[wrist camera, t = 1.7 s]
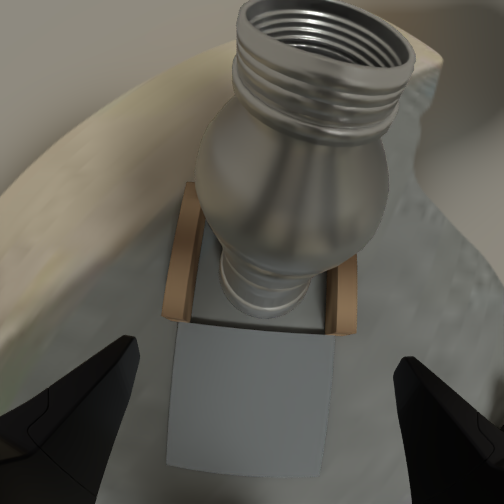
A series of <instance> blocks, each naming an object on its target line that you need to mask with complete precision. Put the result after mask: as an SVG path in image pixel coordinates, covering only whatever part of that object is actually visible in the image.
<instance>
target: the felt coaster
mask: <svg viewBox="0 0 504 504" xmlns="http://www.w3.org/2000/svg"><path fill="white" fill-rule="evenodd" d="M334 348H335V335H318V334H299V333H284V332H271V331H259V330H248V329H238V328H229V327H220V326H211V325H203V324H195V323H186V322H178V330H177V338H176V346H175V355H174V365H173V374H172V385H171V396H170V408H169V422H168V438H167V458H166V465H169V466H174V467H179V468H185V469H191V470H197V471H203V472H210V473H218V474H227V475H238V476H252V477H317V476H320V470H321V464H322V458H323V452H324V445H325V438H326V431H327V423H328V415H329V406H330V397H331V387H332V375H333V363H334Z"/></svg>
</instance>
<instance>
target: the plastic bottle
mask: <svg viewBox="0 0 504 504" xmlns="http://www.w3.org/2000/svg"><path fill="white" fill-rule="evenodd" d="M236 27H237V28H236V29H237V54H236V56H235V57H234V59H233V65H232V83H233V88H234V93H235V94H236V95H235V96H233V97H232V98H231V99H230V100H229V101H228V102H227V103H226V104H225V106H224V107H223V108H222V109H221V110H220V112H219V113H218V114H217V115H216V117H215V118H214V119H213V120H212V122H211V123H210V124H209V126H208V127H207V129H206V131H205V133H204V136H203V138H202V140H201V144H200V147H199V151H198V155H197V160H196V166H195V172H194V175H195V189H196V193H197V196H198V199H199V202H200V206H201V208H202V210H203V213H204V215H205V218H206V220H207V222H208V223H209V225H210V227H211V229H212V230H213V232H214V234H215V235H216V237H217V238H218V240H219V242H220V243H221V245H222V247H223V250H222V253H221V257H220V262H219V280H220V284H221V287H222V290H223V292H224V293H225V295H226V297H227V299H228V300H229V301H230V302H231V303H232V304H233V306H235V307H236V308H237V309H239V310H240V311H241V312H243V313H245V314H247V315H249V316H253V317H256V318H265V319H269V318H276V317H280V316H282V315H285V314H287V313H288V312H290V311H292V310H293V309H294V308H295V307H296V306H297V305H298V304H299V303H300V302H301V301H302V299H303V298H304V296H305V294H306V292H307V290H308V287H309V285H310V282H311V278H313V277H314V276H315V275H318V274H320V273H322V272H325V271H327V270H330V269H332V268H335V267H337V266H339V265H340V264H342V263H343V262H344V261H346V260H348V259H349V258H350V257H352V256H353V255H355V254H356V253H358V252H359V251H361V250H362V249H363V248H364V247H365V246H366V244H367V243H368V242H369V241H370V240H371V239H372V238H373V236H374V235H375V233H376V231H377V229H378V227H379V225H380V223H381V220H382V217H383V214H384V211H385V207H386V204H387V199H388V194H389V171H388V165H387V160H386V154H385V150H384V146H383V143H382V139H381V137H382V136H383V135H384V134H386V133H387V131H388V129H389V128H390V126H391V124H392V122H393V120H394V118H395V116H396V115H397V113H398V108H399V99H400V97H401V95H402V93H403V91H404V89H405V87H406V85H407V83H408V81H409V79H410V77H411V75H412V73H413V71H414V64H415V62H416V54H415V52H414V50H413V47H412V46H411V45H410V43H409V42H408V40H407V39H406V38H405V37H404V36H403V35H402V34H401V33H400V32H399V31H398V30H396V29H395V28H394V27H392V26H391V25H390V24H388V23H387V22H385V21H384V20H382V19H381V18H379V17H377V16H375V15H374V14H372V13H370V12H368V11H366V10H364V9H361V8H359V7H356V6H354V5H351V4H348V3H346V2H343V1H339V0H249V1H248V2H246V3H244V4H243V5H242V7H241V8H240V10H239V14H238V18H237V23H236Z"/></svg>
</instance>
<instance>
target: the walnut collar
mask: <svg viewBox="0 0 504 504" xmlns="http://www.w3.org/2000/svg"><path fill="white" fill-rule="evenodd" d="M205 220H206V218H205V215H204V213H203V210H202V208H201V206H200V202H199V199H198V196H197V193H196V189H195V182H187V183H186V187H185V191H184V195H183V200H182V204H181V209H180V214H179V218H178V223H177V228H176V233H175V238H174V243H173V248H172V253H171V259H170V264H169V270H168V276H167V282H166V288H165V294H164V301H163V307H162V314H161V316H163V317H165V318H167V319H169V320H171V321H177V322H186V323H190V320H191V313H192V305H193V298H194V290H195V283H196V276H197V270H198V263H199V257H200V250H201V244H202V238H203V232H204V226H205ZM356 329H357V253H356V254H355V255H353V256H352V257H350V258H349V259H348V260H346V261H344V262H343V263H342V264H340V265H339V266H337V267H335V268H332V269H330V270H327V288H326V315H325V335H335V336H345V335H350V334H355V333H356Z"/></svg>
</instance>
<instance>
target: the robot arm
mask: <svg viewBox="0 0 504 504" xmlns="http://www.w3.org/2000/svg"><path fill="white" fill-rule="evenodd" d="M139 360H140V353H139V348H138V344H137V340H136V338H135V337H134V336H129V335H123V336H121V337H120V338H118V339H117V340H115V341H114V342H112V343H111V344H110V345H108V346H107V347H105V348H104V349H102V350H101V351H100V352H98V353H97V354H95V355H94V356H92V357H91V358H89V359H88V360H87V361H85V362H84V363H82V364H81V365H79V366H78V367H77V368H75V369H74V370H72V371H71V372H69V373H68V374H67V375H65V376H64V377H62V378H61V379H59V380H58V381H57V382H55V383H54V384H52V385H51V386H49V388H46V389H45V390H44V391H42V392H41V393H39V394H38V395H36V396H35V397H33V398H32V399H30V400H29V401H27V402H25V403H24V404H22V405H20V406H18V407H17V408H15V409H13V410H11V411H9V412H7V413H6V414H4V415H2V416H0V504H95V502H96V498H97V494H98V491H99V488H100V484H101V481H102V478H103V475H104V472H105V468H106V465H107V462H108V459H109V456H110V453H111V450H112V447H113V444H114V441H115V438H116V436H117V433H118V430H119V427H120V424H121V421H122V419H123V416H124V413H125V410H126V408H127V405H128V402H129V399H130V396H131V392H132V388H133V384H134V380H135V376H136V372H137V368H138V364H139ZM393 381H394V388H395V397H396V405H397V413H398V419H399V424H400V429H401V434H402V439H403V444H404V450H405V456H406V462H407V468H408V475H409V482H410V489H411V498H412V504H504V432H502V431H501V430H500V429H498V428H497V427H496V426H494V425H493V424H492V423H491V422H490V421H488V420H487V419H486V418H485V417H484V416H482V415H481V414H480V413H479V412H477V410H476V409H474V408H473V407H472V406H471V405H470V404H469V403H468V402H466V401H465V400H464V399H463V398H462V397H461V396H460V395H458V394H457V393H456V392H455V391H454V390H453V389H452V388H450V387H449V386H448V385H447V384H446V383H445V382H443V381H442V380H441V379H440V378H439V377H438V376H436V375H435V374H434V373H433V372H432V371H430V370H429V369H428V368H427V367H426V366H425V365H423V364H422V363H421V362H420V361H419V360H417V359H416V358H415V357H413V356H408V357H403V358H402V359H401V361H400V363H399V364H398V366H397V368H396V370H395V372H394V375H393Z"/></svg>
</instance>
